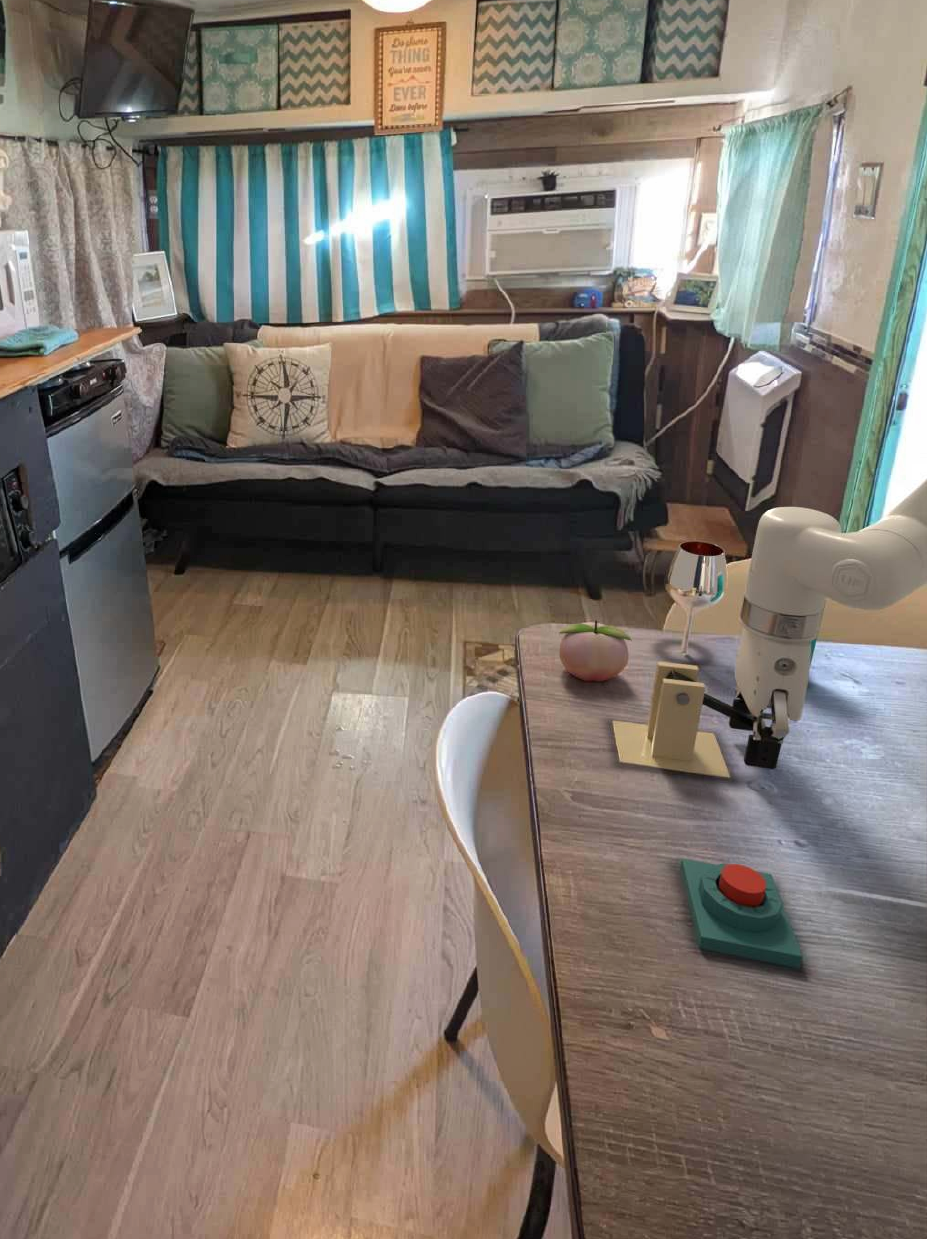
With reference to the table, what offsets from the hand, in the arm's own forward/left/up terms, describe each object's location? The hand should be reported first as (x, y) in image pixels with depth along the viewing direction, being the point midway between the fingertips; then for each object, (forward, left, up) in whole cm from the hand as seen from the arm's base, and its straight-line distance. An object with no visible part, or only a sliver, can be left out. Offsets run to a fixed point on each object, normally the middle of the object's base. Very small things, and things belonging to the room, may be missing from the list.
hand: (751, 745), depth 98 cm
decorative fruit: (+17, -16, -3) cm, 23 cm away
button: (+7, +26, +1) cm, 27 cm away
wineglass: (+3, -26, -3) cm, 26 cm away
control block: (+7, +26, -3) cm, 27 cm away
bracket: (+9, 0, -3) cm, 9 cm away
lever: (+5, 0, +4) cm, 6 cm away
